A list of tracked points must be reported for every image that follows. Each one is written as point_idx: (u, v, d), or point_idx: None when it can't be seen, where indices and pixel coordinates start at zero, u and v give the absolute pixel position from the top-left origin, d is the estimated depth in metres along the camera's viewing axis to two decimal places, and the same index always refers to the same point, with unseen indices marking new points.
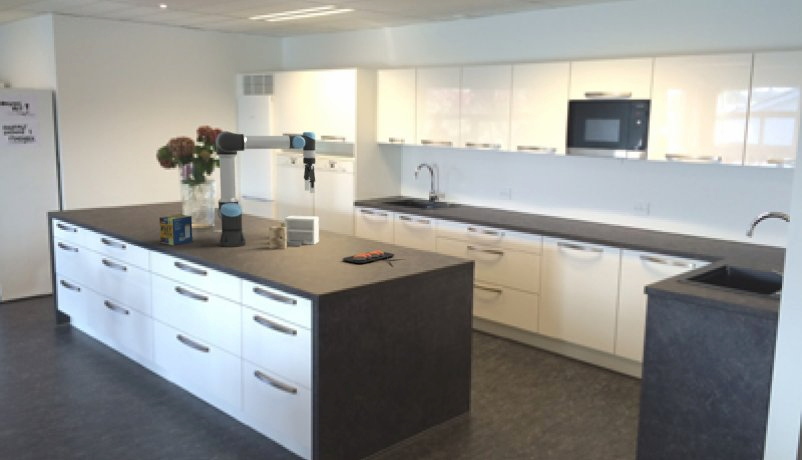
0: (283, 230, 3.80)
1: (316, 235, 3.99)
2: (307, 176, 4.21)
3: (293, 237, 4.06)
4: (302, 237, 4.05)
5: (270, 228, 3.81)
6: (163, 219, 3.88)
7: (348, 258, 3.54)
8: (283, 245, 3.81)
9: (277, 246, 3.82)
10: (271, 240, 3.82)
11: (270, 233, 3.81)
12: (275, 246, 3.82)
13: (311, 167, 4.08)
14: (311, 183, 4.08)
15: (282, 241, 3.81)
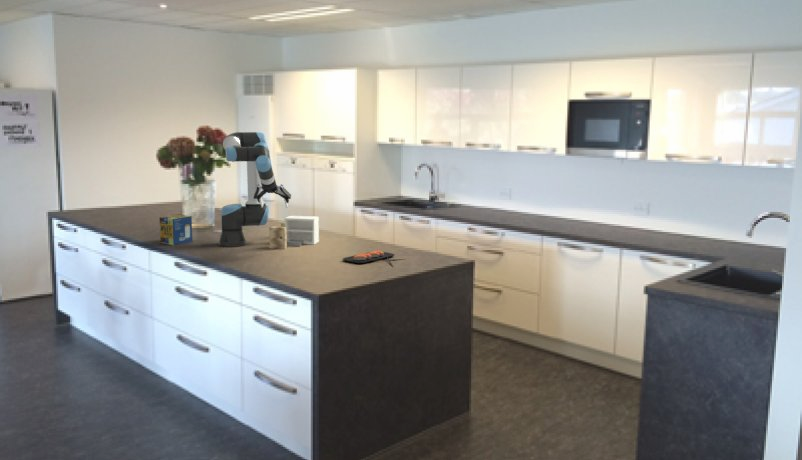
0: (283, 230, 3.80)
1: (316, 235, 3.99)
2: None
3: (293, 237, 4.06)
4: (302, 237, 4.05)
5: (270, 228, 3.81)
6: (163, 219, 3.88)
7: (348, 258, 3.54)
8: (283, 245, 3.81)
9: (277, 246, 3.82)
10: (271, 240, 3.82)
11: (270, 233, 3.81)
12: (275, 246, 3.82)
13: (257, 186, 3.59)
14: None
15: (282, 241, 3.81)
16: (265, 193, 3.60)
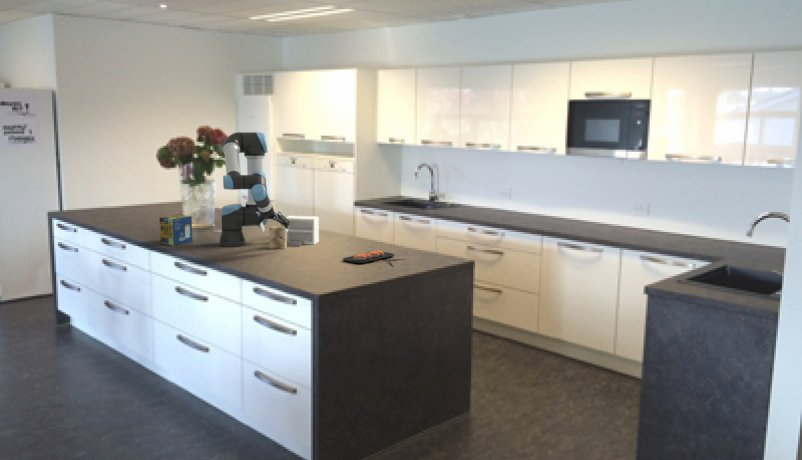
0: (283, 230, 3.80)
1: (316, 235, 3.99)
2: None
3: (293, 237, 4.06)
4: (302, 237, 4.05)
5: (270, 228, 3.81)
6: (163, 219, 3.88)
7: (348, 258, 3.54)
8: (283, 245, 3.81)
9: (277, 246, 3.82)
10: (271, 240, 3.82)
11: (270, 233, 3.81)
12: (275, 246, 3.82)
13: None
14: None
15: (282, 241, 3.81)
16: (264, 219, 3.65)
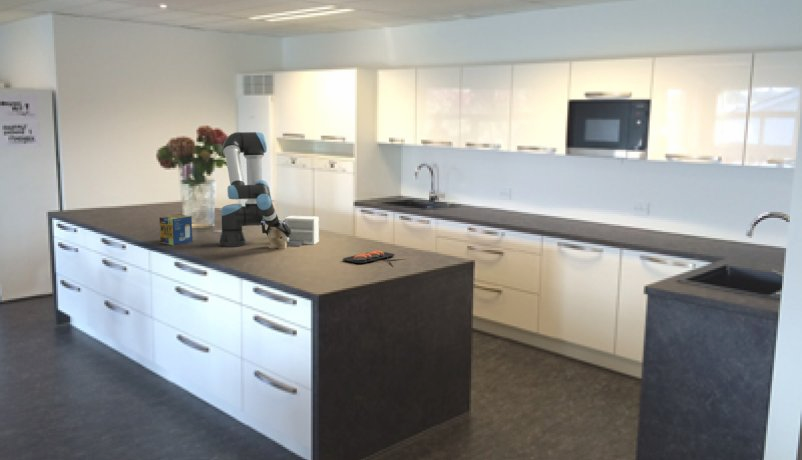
0: None
1: (316, 235, 3.99)
2: None
3: (293, 237, 4.06)
4: (302, 237, 4.05)
5: (270, 228, 3.81)
6: (163, 219, 3.88)
7: (348, 258, 3.54)
8: (283, 245, 3.81)
9: (277, 246, 3.82)
10: (271, 240, 3.82)
11: (270, 233, 3.81)
12: (275, 246, 3.82)
13: None
14: None
15: (282, 241, 3.81)
16: (269, 228, 3.75)
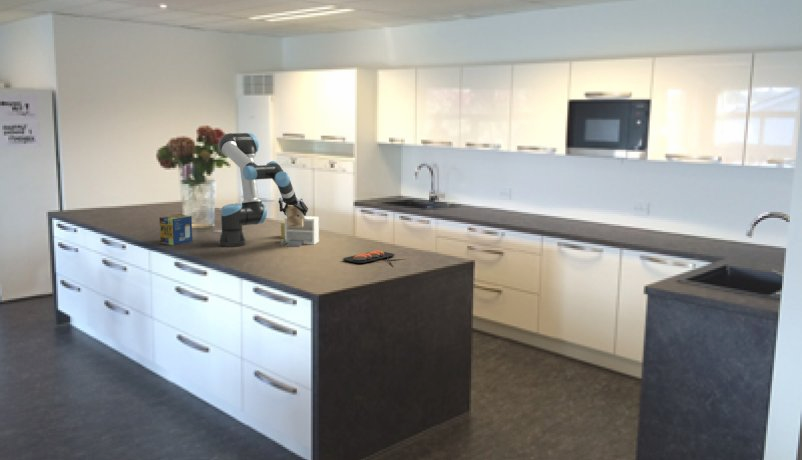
0: None
1: (316, 235, 3.99)
2: None
3: (293, 237, 4.06)
4: (302, 237, 4.05)
5: None
6: (163, 219, 3.88)
7: (348, 258, 3.54)
8: (300, 223, 3.88)
9: (294, 224, 3.89)
10: (288, 218, 3.89)
11: (287, 211, 3.88)
12: (292, 224, 3.89)
13: None
14: None
15: (299, 219, 3.88)
16: (287, 206, 3.82)
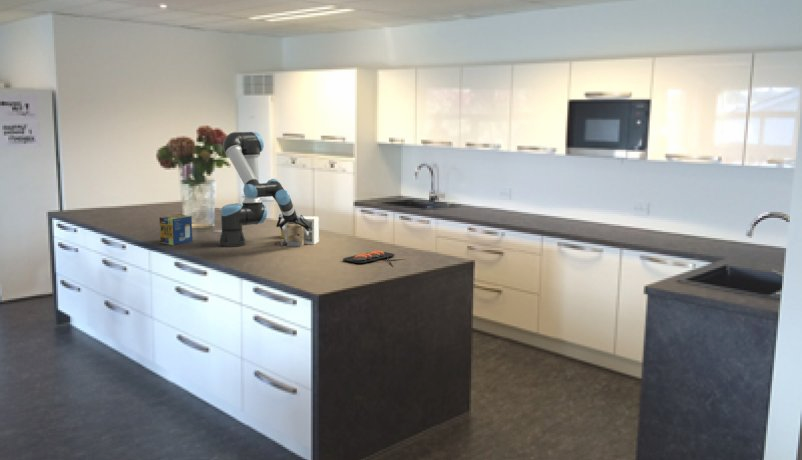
0: (300, 228, 3.88)
1: (316, 235, 3.99)
2: None
3: None
4: None
5: (288, 226, 3.90)
6: (163, 219, 3.88)
7: (348, 258, 3.54)
8: None
9: None
10: (289, 237, 3.91)
11: (288, 231, 3.90)
12: None
13: (279, 216, 3.82)
14: None
15: (299, 238, 3.90)
16: (286, 222, 3.83)
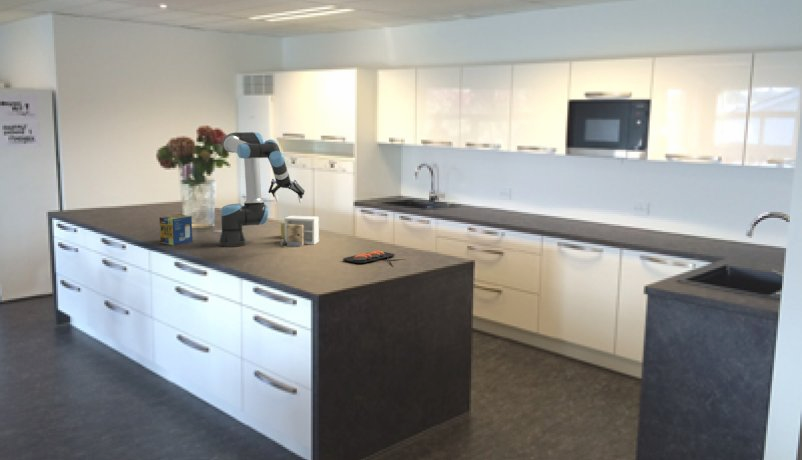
0: (300, 228, 3.88)
1: (316, 235, 3.99)
2: None
3: None
4: None
5: (288, 226, 3.90)
6: (163, 219, 3.88)
7: (348, 258, 3.54)
8: None
9: None
10: (289, 237, 3.91)
11: (288, 231, 3.90)
12: None
13: (271, 181, 3.67)
14: None
15: (299, 238, 3.90)
16: None
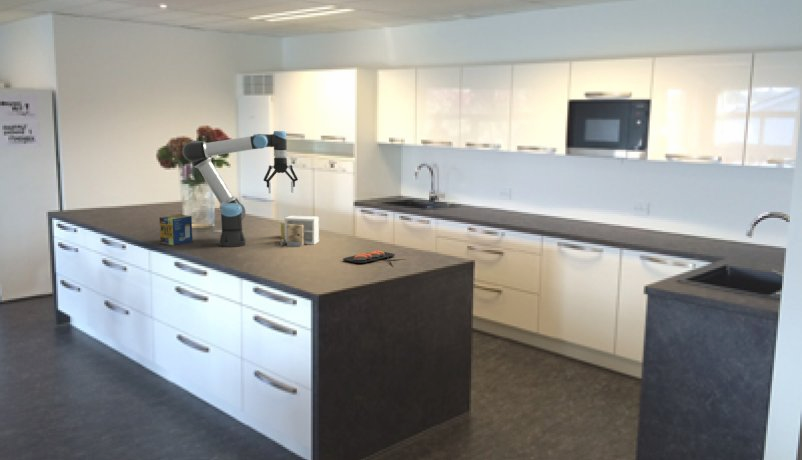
0: (300, 228, 3.88)
1: (316, 235, 3.99)
2: (289, 177, 4.04)
3: None
4: None
5: (288, 226, 3.90)
6: (163, 219, 3.88)
7: (348, 258, 3.54)
8: None
9: None
10: (289, 237, 3.91)
11: (288, 231, 3.90)
12: None
13: None
14: None
15: (299, 238, 3.90)
16: (276, 172, 3.99)
